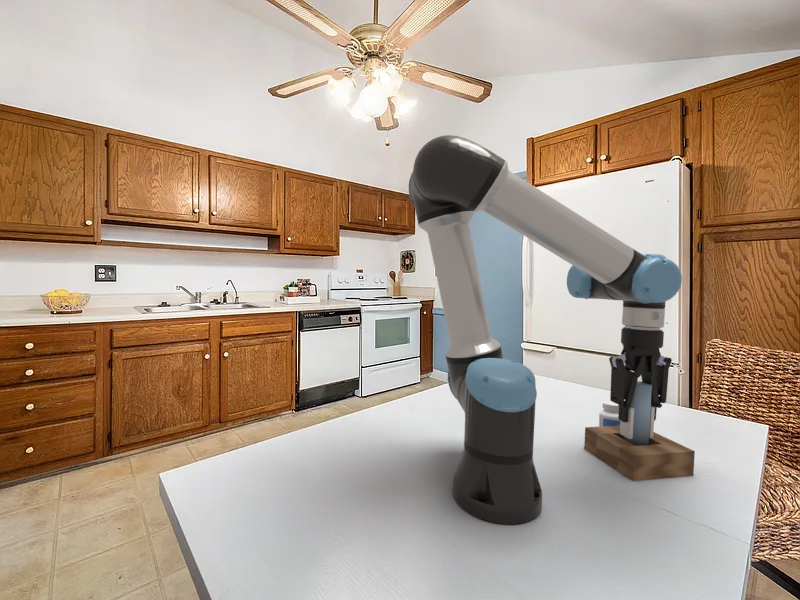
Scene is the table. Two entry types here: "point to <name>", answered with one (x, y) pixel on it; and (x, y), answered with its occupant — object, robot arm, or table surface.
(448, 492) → the table surface
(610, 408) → the pill bottle
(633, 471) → the socket block
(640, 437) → the peg
